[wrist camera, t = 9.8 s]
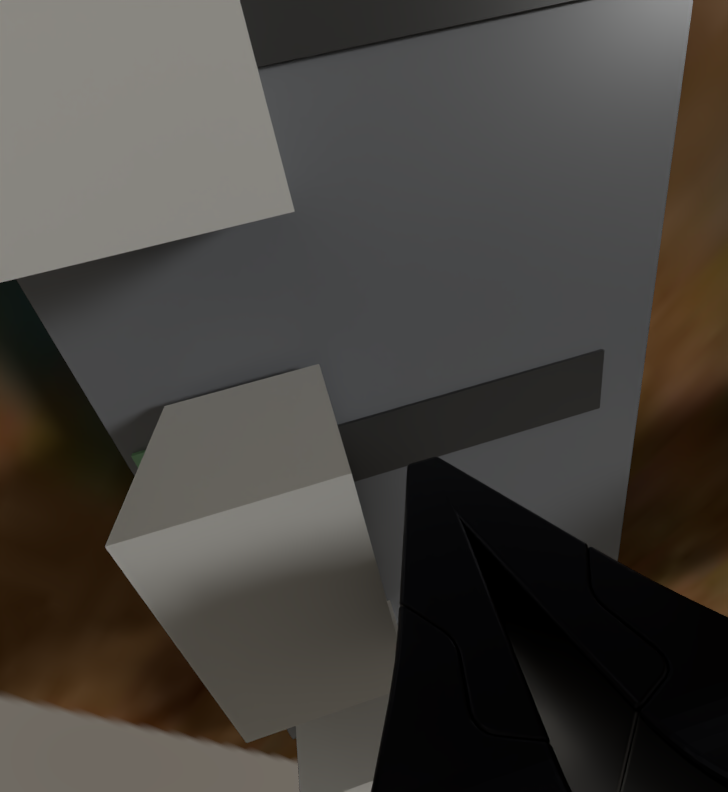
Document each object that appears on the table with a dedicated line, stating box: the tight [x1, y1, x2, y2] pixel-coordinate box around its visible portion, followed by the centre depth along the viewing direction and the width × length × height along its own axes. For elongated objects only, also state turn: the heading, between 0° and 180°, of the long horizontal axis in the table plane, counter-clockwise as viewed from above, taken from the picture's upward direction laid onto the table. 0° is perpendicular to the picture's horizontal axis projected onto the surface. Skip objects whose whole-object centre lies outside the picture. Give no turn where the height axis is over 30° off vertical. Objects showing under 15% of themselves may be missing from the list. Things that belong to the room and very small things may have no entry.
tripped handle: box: [105, 364, 397, 743], centre depth 8 cm, size 3×5×4 cm, turn 12°
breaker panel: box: [0, 0, 693, 792], centre depth 9 cm, size 12×22×6 cm, turn 12°
